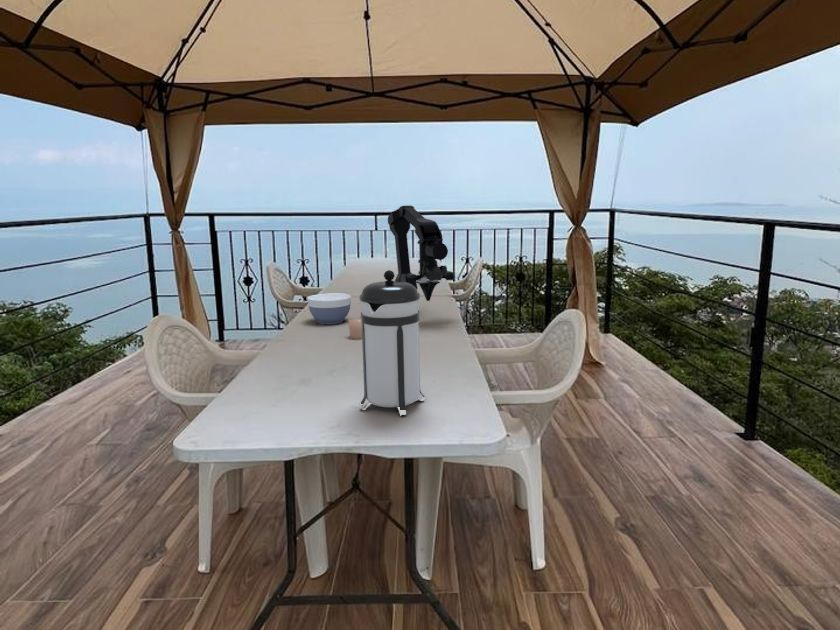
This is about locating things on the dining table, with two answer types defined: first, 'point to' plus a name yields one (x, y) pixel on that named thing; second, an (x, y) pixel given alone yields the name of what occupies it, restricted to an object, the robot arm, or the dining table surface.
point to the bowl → (329, 307)
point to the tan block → (355, 328)
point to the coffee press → (390, 343)
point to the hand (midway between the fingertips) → (428, 300)
